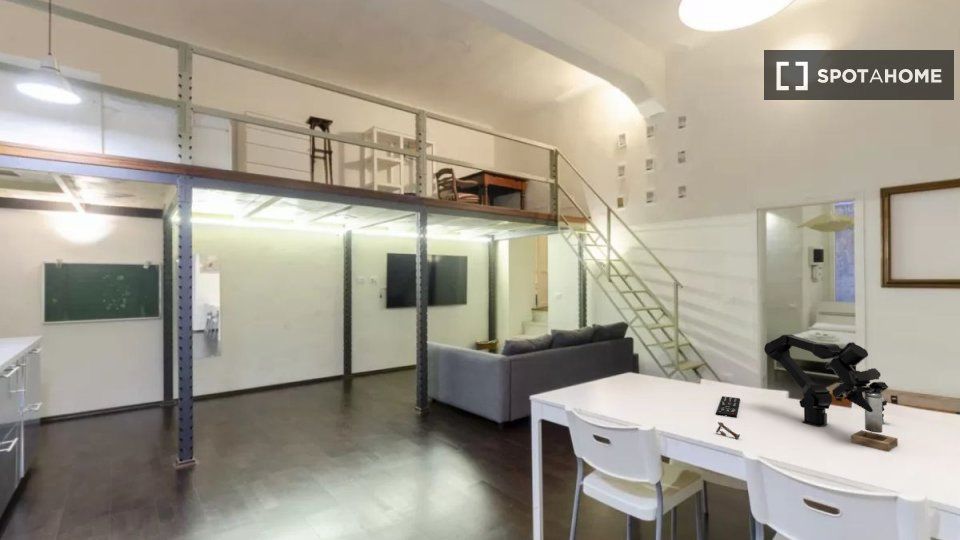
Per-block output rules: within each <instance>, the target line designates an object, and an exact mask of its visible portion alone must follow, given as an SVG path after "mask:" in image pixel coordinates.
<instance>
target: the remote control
mask: <svg viewBox="0 0 960 540" xmlns="http://www.w3.org/2000/svg"><path fill="white" fill-rule="evenodd" d="M740 403H741V398H739V397H732V396H723V395H722V396H721V398H720V401H719V403H718V406H717V409H716V411H715V416H719V417H720V416H721V417H727V418H736V419H737V416H738V413H739V409H740Z"/></svg>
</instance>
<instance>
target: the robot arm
mask: <svg viewBox="0 0 960 540" xmlns="http://www.w3.org/2000/svg"><path fill="white" fill-rule="evenodd" d="M793 347H795V348H798V349H801V350H805V351H807V352H810V353H812V355H813V356H815V357H817V358H819V359H820V360H821V359H822V360H830V361H826V362H825V366H824V369H825V370H833V372H834V374H835V375H836V376H837V377H838V378H837V381H838V383H840V384H838V385H836V387H835V388H833V389H832V392H831V391H830V390H828V388H826V386H825V384H823V383H815V382H814V381H813V380H812V379H811V378H810V376H809V375H808V374H807V373H806V372H805V371H804V370H803V369H802V368H801V367H800V365H798V363H797V362H796V361H795V360H794V359H793V358H792V356H791V351H790V350H791V349H792V348H793ZM763 349H764V350H763V351H764V352H765V354H766V355H767V356H768V357H769V358H770V359H772V360H774V361H777V362H778V363H779V364H780V365H781V366H782V367H783V368H784V370H785V371H786V372H787V373H788V374H789V375H790V376H791V378H792V379H793V380H794V382H796V384H798V386H799V387H800V388H801V391H802V396H803V398H801V399H800V400H799V405H800V407H801V408H803V417H804V420H802V423H804V424H808V425H812V426H813V425H814V426H817V427H823V426H825V425H828V414H827V412H826V410H829V409H830V407H831V404H832V401H833V396H834V398H835V399H843V398H844V400H846V401H849V402H851V403H852V404H855V405H857V406H858V407H860V408H862V409H863V410H864V411H865V410H867V411H869V412H872V411H873V410H872V408H871V407H870V405H869V404H868V403H867V401H866V400H865V396H864V395H863V393H864V394H865V392H876V393H880V394H883V393H884V392H885V391H886V390H887V389H889V386H888V385H887V384H886V382H884V381H878V380H880V377H881V372H880V371H879V370H878V369H877V368H874V367H873V368H868V369H866V370H863V371H860V370H855V368H853V367H855V366H857V365H859V364H860V363H861V362H863V361H864V360H865V359H866V358H867V357H869V353H868V351H867V349H865V348H863V347H862V346H860V345H858V344H856V343H855V342H854V341H853V342H850V341H849V342H848V343H847V344H846V345H845V346H844V347H843V348H842V347H840V346H839V345H838V344H836V343H828V342H817V341H813V340H811V339H806V338H803V337H800V336H796V335H795V334H791V333H790V334H782V335H780V336H778V338H775V339H773V340H770V342H766V343H765V345H764V347H763ZM873 380H877V381H873ZM871 381H873V382H872V383H871ZM831 393H832V394H831ZM844 394H845V397H844ZM832 395H833V396H832ZM884 407H885V406H883V404H882V412H884V411H885V408H884Z"/></svg>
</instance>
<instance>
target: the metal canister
mask: <svg viewBox="0 0 960 540" xmlns="http://www.w3.org/2000/svg"><path fill="white" fill-rule="evenodd" d="M864 397H865V400H866V401H867V403H868V404H869V405H870V407H871V408H872V410H873V411H872V412H869V411H867V410H865V409H864V431H867V432H872V433H876V434H880V433H883V422H882V414H883V411H882V398H883V393H876V392H865V393H864Z"/></svg>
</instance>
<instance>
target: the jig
mask: <svg viewBox="0 0 960 540" xmlns="http://www.w3.org/2000/svg"><path fill="white" fill-rule="evenodd" d="M850 443H852V444H856V445H859V446H860V445H861V446H864V447H867V448H873V449H877V450H880V451H885V452H890V451H891V450H893V449H894V448H895V447H897V445H899V444H898V443H899V440H898V437H895V436H894V437H893V436H889V435H885V434H880V433H877V432H871V431H867V430H862V429H861V430H859V431H857V432H855V433H853V434H851V435H850Z"/></svg>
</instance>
